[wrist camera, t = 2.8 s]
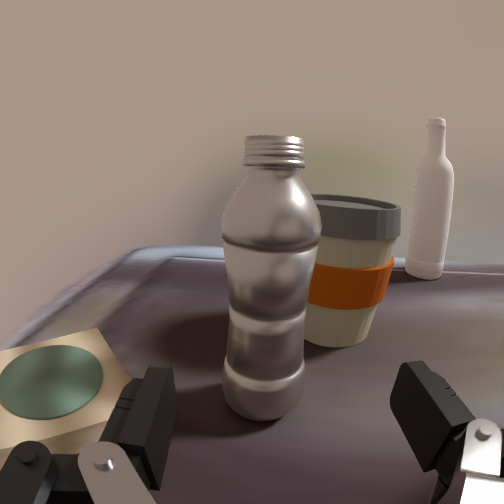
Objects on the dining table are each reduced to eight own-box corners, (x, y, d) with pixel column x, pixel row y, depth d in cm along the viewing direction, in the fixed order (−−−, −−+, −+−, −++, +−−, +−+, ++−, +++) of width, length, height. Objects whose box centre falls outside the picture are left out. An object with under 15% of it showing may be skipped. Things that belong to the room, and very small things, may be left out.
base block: (104, 362, 27) (96, 324, 26) (159, 442, 19) (149, 401, 18) (-1, 390, 20) (-17, 351, 19) (14, 487, 11) (-16, 448, 10)
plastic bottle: (208, 418, 22) (200, 133, 16) (239, 372, 28) (243, 141, 22) (290, 439, 20) (320, 134, 14) (308, 386, 26) (332, 144, 20)
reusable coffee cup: (274, 305, 42) (280, 192, 38) (362, 304, 43) (375, 197, 38) (285, 359, 30) (297, 206, 26) (398, 351, 31) (425, 214, 26)
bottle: (396, 267, 58) (408, 115, 50) (424, 265, 60) (436, 123, 52) (420, 281, 51) (436, 112, 43) (448, 278, 52) (464, 122, 44)
